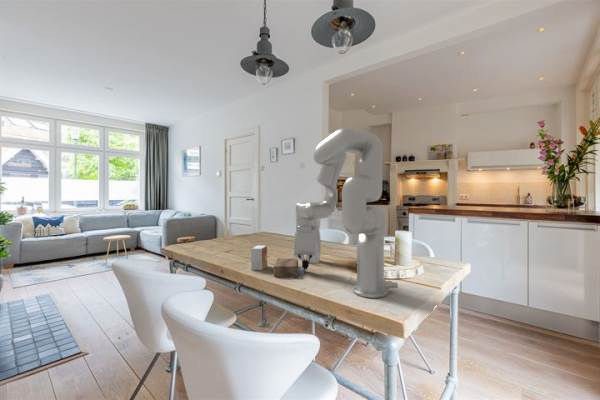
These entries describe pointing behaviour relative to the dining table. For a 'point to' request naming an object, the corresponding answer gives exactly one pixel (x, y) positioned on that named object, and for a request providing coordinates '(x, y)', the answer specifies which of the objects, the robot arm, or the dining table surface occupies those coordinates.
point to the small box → (258, 257)
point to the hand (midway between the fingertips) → (305, 268)
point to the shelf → (286, 268)
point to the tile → (300, 269)
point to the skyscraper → (318, 242)
